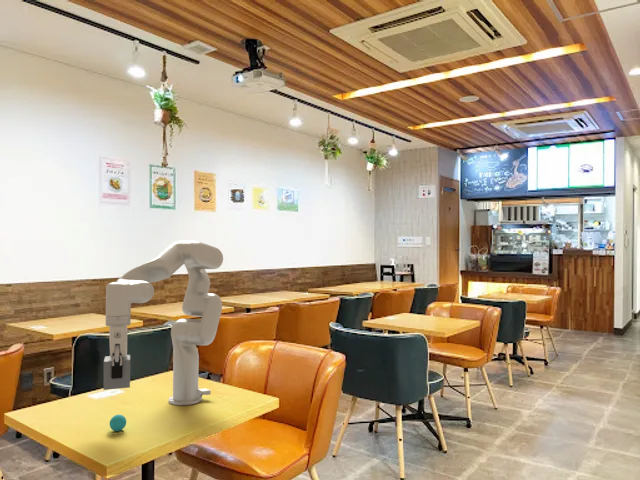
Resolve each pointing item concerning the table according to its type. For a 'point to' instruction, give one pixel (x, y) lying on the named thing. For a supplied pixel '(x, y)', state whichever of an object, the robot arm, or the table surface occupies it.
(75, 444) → the table surface
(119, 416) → the ball
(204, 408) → the table surface
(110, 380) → the grey tapered block
